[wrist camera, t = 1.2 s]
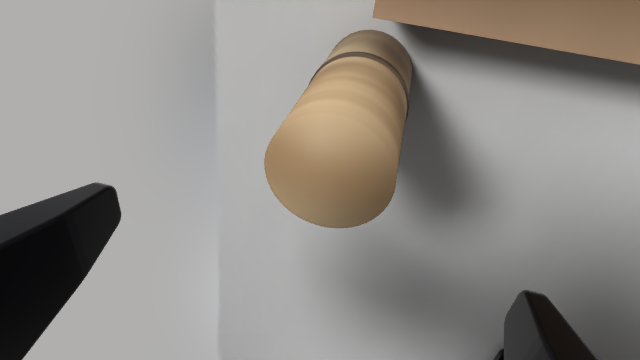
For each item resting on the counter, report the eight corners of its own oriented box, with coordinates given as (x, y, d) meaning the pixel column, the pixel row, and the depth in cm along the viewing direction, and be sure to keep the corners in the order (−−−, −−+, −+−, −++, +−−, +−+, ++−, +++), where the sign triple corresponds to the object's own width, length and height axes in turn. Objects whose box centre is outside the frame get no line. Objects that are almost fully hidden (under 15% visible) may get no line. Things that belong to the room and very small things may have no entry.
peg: (402, 121, 18) (382, 242, 12) (321, 104, 19) (260, 212, 13) (423, 37, 16) (413, 130, 10) (331, 21, 17) (264, 99, 10)
